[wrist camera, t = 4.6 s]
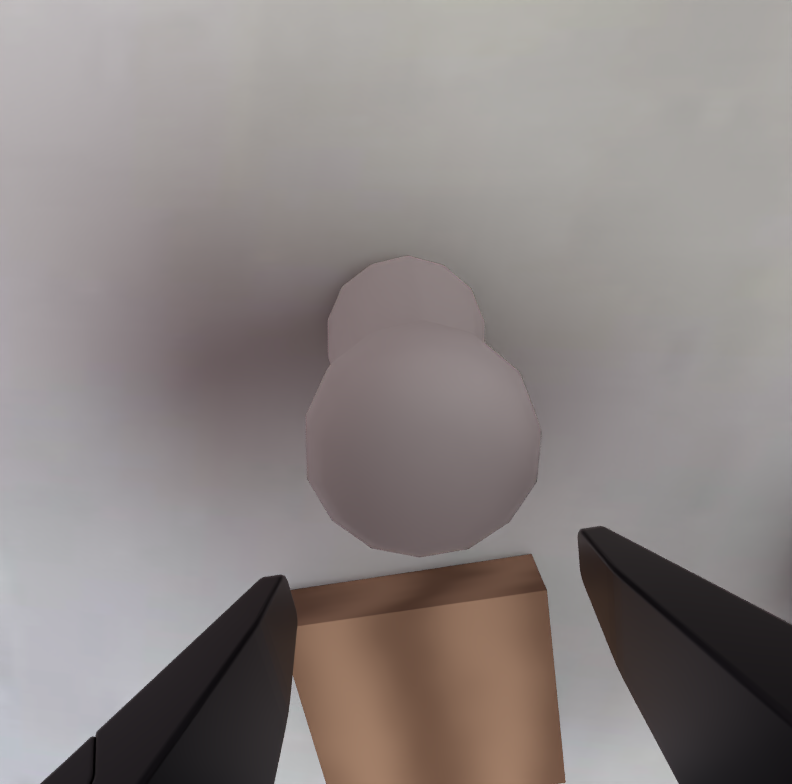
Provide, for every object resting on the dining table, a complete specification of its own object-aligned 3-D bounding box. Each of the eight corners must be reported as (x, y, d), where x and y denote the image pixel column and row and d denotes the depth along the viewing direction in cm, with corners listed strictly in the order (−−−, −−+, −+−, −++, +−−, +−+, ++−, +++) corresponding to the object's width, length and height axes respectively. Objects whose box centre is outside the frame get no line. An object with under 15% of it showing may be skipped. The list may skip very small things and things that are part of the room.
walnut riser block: (528, 548, 24) (546, 590, 21) (547, 726, 28) (565, 782, 25) (291, 583, 25) (278, 628, 22) (340, 753, 28) (334, 811, 26)
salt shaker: (321, 375, 21) (218, 579, 9) (349, 238, 19) (272, 246, 7) (453, 405, 21) (536, 641, 9) (492, 274, 20) (661, 343, 7)
